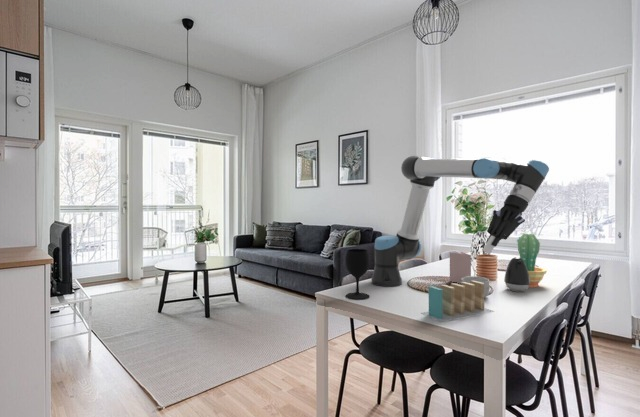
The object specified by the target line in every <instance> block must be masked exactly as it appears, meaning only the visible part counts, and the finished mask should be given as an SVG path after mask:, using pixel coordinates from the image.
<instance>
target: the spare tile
mask: <svg viewBox="0 0 640 417" xmlns="http://www.w3.org/2000/svg"><path fill="white" fill-rule="evenodd" d="M428 312H429V315H431V316H434V317H436V318H438V319H440V318H443V289H440V288H439V287H436V286H433V285H431V286H428Z"/></svg>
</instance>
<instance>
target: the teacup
mask: <svg viewBox="0 0 640 417" xmlns="http://www.w3.org/2000/svg"><path fill="white" fill-rule="evenodd" d="M461 280H462V282H466V283H470V281H477V282H481V283H484V299H485V297H486V298H487V296H489V293H490V279H489V278H487V277H483V276H477V275H476V276H473V275H471V276H466V277H463V278H462V279H461Z"/></svg>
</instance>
